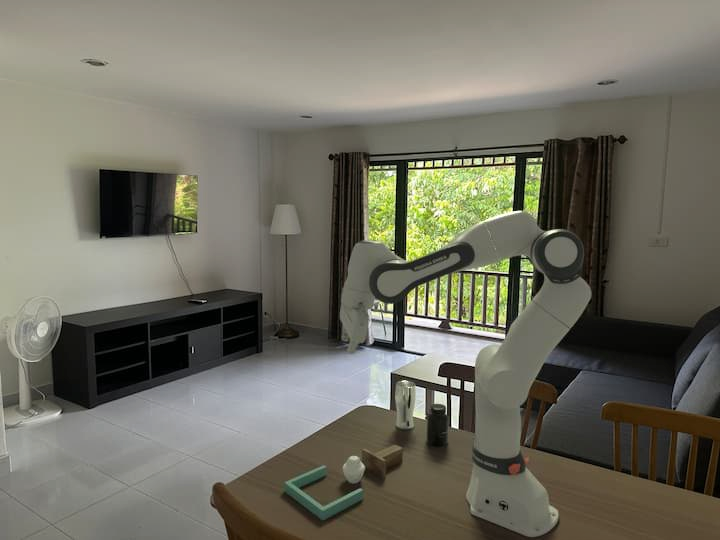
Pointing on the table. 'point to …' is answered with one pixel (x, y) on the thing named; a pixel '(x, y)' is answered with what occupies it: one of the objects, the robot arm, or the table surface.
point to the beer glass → (405, 404)
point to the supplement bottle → (437, 425)
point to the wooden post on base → (382, 459)
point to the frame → (312, 505)
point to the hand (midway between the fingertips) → (347, 346)
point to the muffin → (353, 469)
